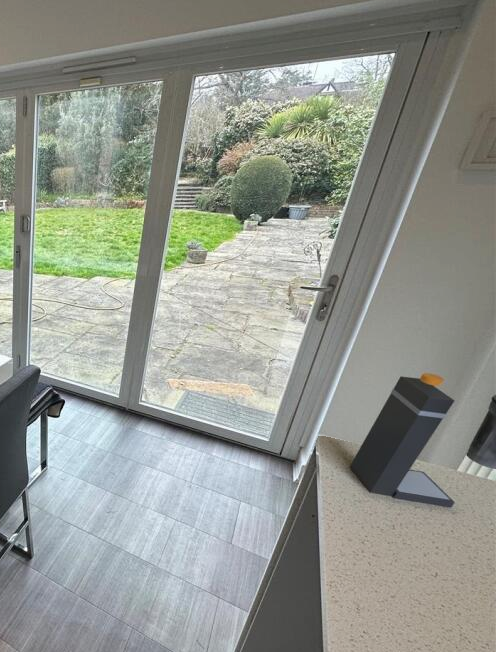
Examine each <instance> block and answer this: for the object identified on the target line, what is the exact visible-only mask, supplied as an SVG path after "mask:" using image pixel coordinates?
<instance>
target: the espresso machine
mask: <svg viewBox="0 0 496 652" xmlns="http://www.w3.org/2000/svg"><path fill="white" fill-rule="evenodd" d="M454 403H455V400H454V399H453V398H452V397H450V396H449V395H447V394H446V393H445V392H443V391H442V390H440V389H439V388H437V386H434V385H429V384H426V383H424V382H422V381H421V380H420V377H419V378H417V377H409V376H400V377H399V378H398V380H397V382H396V383H395V386H394V387H393V388H392V390H391V391H390V394H389V396H388V398H387V399H386V401H385V403H384V405H383V407H382V409H381V410H380V412H379V414H378V416H377V417H376V418H375V421H374V423H373V424H372V426H371V428H370V430H369V432H368V434H367V435H366V436H365V439H363V442H362V444H361V446H360V448H359V449H358V451H357V452H356V454H355V456H354V458H353V460H352V462H351V463H350V465H349V469H350V470H351V471H352V472H353V474H354V475H355V476H356V477H357V478H358V480H359V481H360V482H361V483H362V485H363V486H364V487H365V489H366V490H367V491H368V492H369V493H370V494H375V495H382V496H387V497H392V498H393V499H396V500H397V499H398V500H402V501H403V500H404V501H408V502H414V503H421V504H426V505H433V506H438V507H444V508H452V507H453V506H454V505H455V501H454V500H453V499H452V498H451V497H450V496H449V495H448V494H447V493H446V492H445V491H444V490H443V489H442V488H441V487H440V486H439V485H438V484H437V483H436V482H435V481H434V480H433V479H432V478H431V477H430V476H428V475H427V473H426V472H425V471H423V470H422V471H421V470H416V469H415V470H414V469H411V468H412V467H413V465H414V464H415V462H416V460H418V458H419V456H420V454H421V453H422V451H423V450H424V448H425V447H426V445H427V444H428V442H429V440H430V439H431V438H432V436H433V434H434V433H435V431H436V430H437V428H438V427H439V425H440V424H441V423H442V421H443V419H445V417H446V416H447V413H448V412H449V410H450V408H451V407H452V405H453V404H454Z"/></svg>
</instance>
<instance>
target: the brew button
mask: <svg viewBox="0 0 496 652" xmlns="http://www.w3.org/2000/svg"><path fill="white" fill-rule="evenodd" d="M419 379H420V380H421V381H422V382H424V383H426V384H429V385H433V386H434V387H439V386H441V384H442V383H443V381H444V378H443V377H442V376H440V375H437V374H433V373H429V372H424V373H422V375H420V377H419Z"/></svg>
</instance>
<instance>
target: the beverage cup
mask: <svg viewBox="0 0 496 652" xmlns="http://www.w3.org/2000/svg"><path fill="white" fill-rule="evenodd" d="M468 447H469V448H468V449H467V452H466V457H467V458H468V459H470V460H471V461H472V462H474V463H476V464H478V465H481V466H482V467H485V468H489V469H492V470H496V394H494V395H493V396H492V397H491V401H490V403H489V405H488V410H487V413H486V415H485V416H484V418H483V421H481V424H480V426H479V428H478V429H477V432H476V433H475V435H474V436H473V439H472V440H471V443H470V445H469V446H468Z"/></svg>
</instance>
